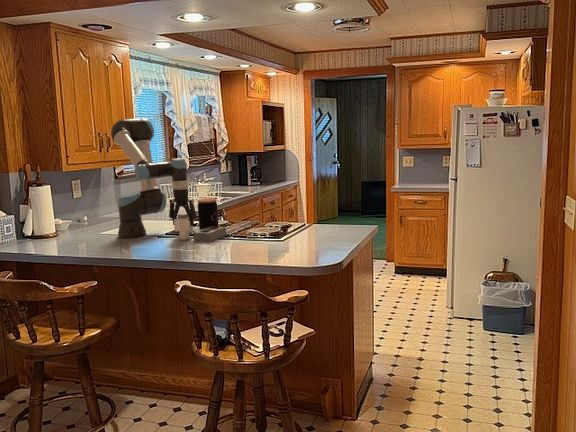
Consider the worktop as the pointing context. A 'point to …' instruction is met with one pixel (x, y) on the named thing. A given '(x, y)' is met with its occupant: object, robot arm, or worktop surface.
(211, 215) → the coffee jar
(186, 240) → the deck mat
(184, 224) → the plug
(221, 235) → the socket box
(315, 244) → the worktop surface
